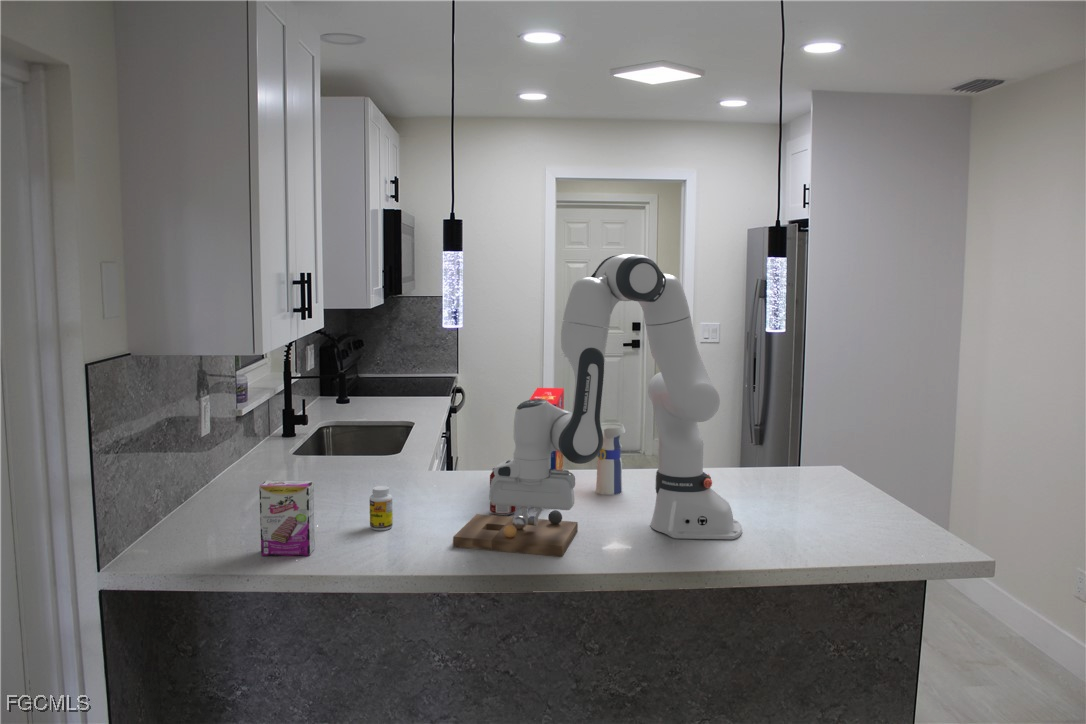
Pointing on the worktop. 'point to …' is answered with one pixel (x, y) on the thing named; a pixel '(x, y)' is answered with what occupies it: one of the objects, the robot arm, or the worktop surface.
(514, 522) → the steel ball
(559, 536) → the board
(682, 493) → the robot arm
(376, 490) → the supplement bottle
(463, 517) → the worktop surface
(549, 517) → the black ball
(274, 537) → the candy bar box
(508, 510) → the soda can
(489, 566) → the worktop surface
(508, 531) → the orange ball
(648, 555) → the worktop surface
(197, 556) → the worktop surface
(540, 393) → the pasta box
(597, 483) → the white tall bottle
